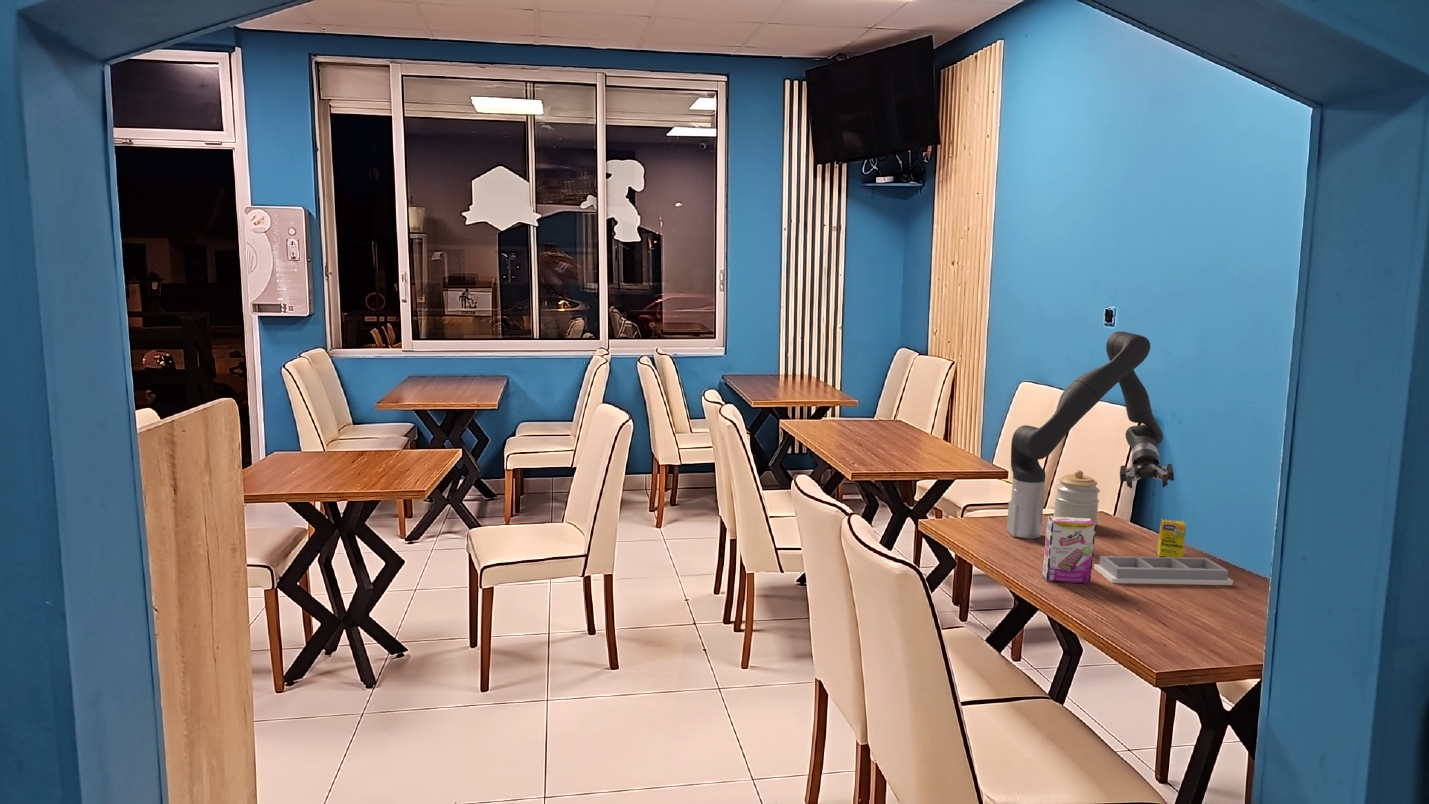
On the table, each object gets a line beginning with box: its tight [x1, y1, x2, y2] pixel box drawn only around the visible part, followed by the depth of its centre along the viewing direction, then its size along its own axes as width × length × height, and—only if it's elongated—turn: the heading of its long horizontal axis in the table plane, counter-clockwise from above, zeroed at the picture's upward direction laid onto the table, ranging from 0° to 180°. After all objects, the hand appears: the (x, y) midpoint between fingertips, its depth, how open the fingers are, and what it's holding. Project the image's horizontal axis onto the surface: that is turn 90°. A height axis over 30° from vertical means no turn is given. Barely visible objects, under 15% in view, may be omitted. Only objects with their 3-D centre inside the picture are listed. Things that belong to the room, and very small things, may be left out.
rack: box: [1093, 555, 1234, 586], centre depth 236 cm, size 31×11×4 cm, turn 90°
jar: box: [1053, 469, 1101, 525], centre depth 282 cm, size 13×13×18 cm
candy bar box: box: [1041, 515, 1097, 584], centre depth 231 cm, size 11×5×16 cm, turn 84°
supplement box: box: [1156, 518, 1187, 557], centre depth 249 cm, size 6×6×11 cm
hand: (1147, 485), depth 256 cm, fingers open, 8 cm apart
